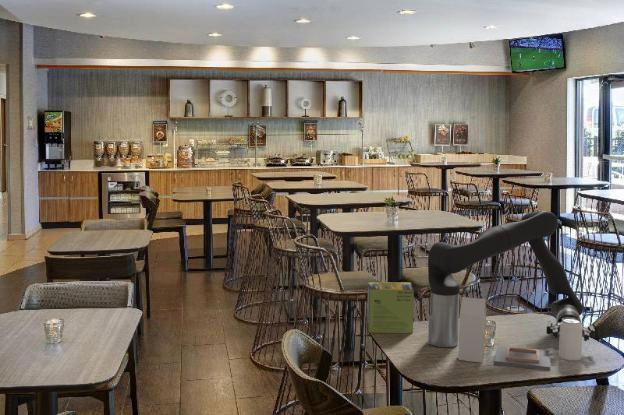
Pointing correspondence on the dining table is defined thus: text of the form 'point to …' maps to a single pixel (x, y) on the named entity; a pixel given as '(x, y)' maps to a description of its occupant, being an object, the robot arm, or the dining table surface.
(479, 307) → the milk carton
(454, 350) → the dining table surface
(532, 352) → the seat plate
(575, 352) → the can
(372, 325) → the protein box
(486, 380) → the dining table surface
